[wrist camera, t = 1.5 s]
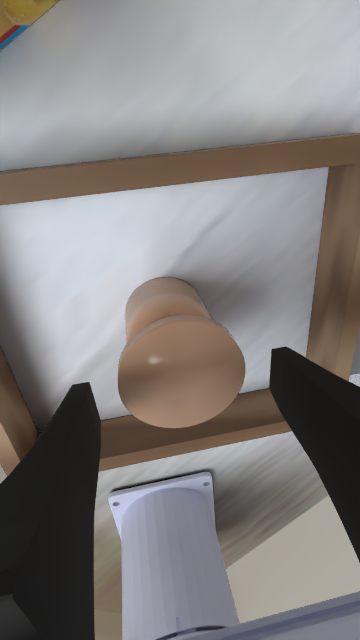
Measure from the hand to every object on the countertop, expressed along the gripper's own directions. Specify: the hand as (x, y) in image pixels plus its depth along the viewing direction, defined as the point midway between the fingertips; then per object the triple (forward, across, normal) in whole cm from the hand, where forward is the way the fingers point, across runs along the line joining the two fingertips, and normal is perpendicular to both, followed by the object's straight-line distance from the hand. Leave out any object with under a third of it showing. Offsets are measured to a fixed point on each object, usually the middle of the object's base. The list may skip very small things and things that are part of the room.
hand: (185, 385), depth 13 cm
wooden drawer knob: (+6, 0, 0) cm, 6 cm away
